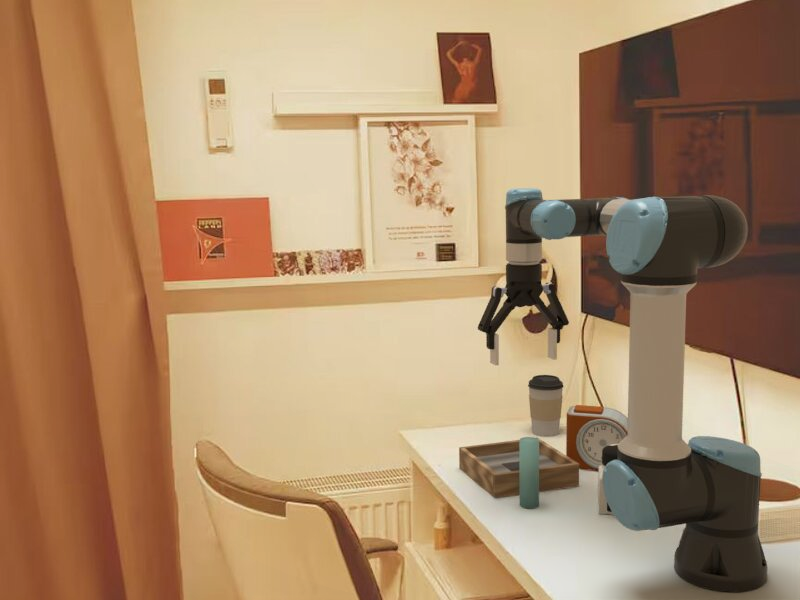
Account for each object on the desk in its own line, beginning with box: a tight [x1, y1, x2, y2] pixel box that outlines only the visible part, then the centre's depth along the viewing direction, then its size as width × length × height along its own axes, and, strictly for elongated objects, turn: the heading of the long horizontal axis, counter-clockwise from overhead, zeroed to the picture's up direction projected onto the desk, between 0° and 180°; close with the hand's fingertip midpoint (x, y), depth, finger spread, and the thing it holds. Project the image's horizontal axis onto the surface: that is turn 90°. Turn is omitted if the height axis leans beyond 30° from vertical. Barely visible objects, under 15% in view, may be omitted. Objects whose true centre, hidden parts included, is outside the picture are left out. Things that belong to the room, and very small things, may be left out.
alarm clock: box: [565, 404, 628, 472], centre depth 210 cm, size 15×8×14 cm, turn 71°
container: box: [597, 444, 618, 516], centre depth 184 cm, size 8×8×13 cm
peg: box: [518, 436, 540, 510], centre depth 187 cm, size 4×4×14 cm
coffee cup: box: [527, 374, 564, 438], centre depth 235 cm, size 9×9×15 cm
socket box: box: [458, 437, 580, 499], centre depth 204 cm, size 20×20×5 cm
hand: (523, 361), depth 194 cm, fingers open, 13 cm apart
